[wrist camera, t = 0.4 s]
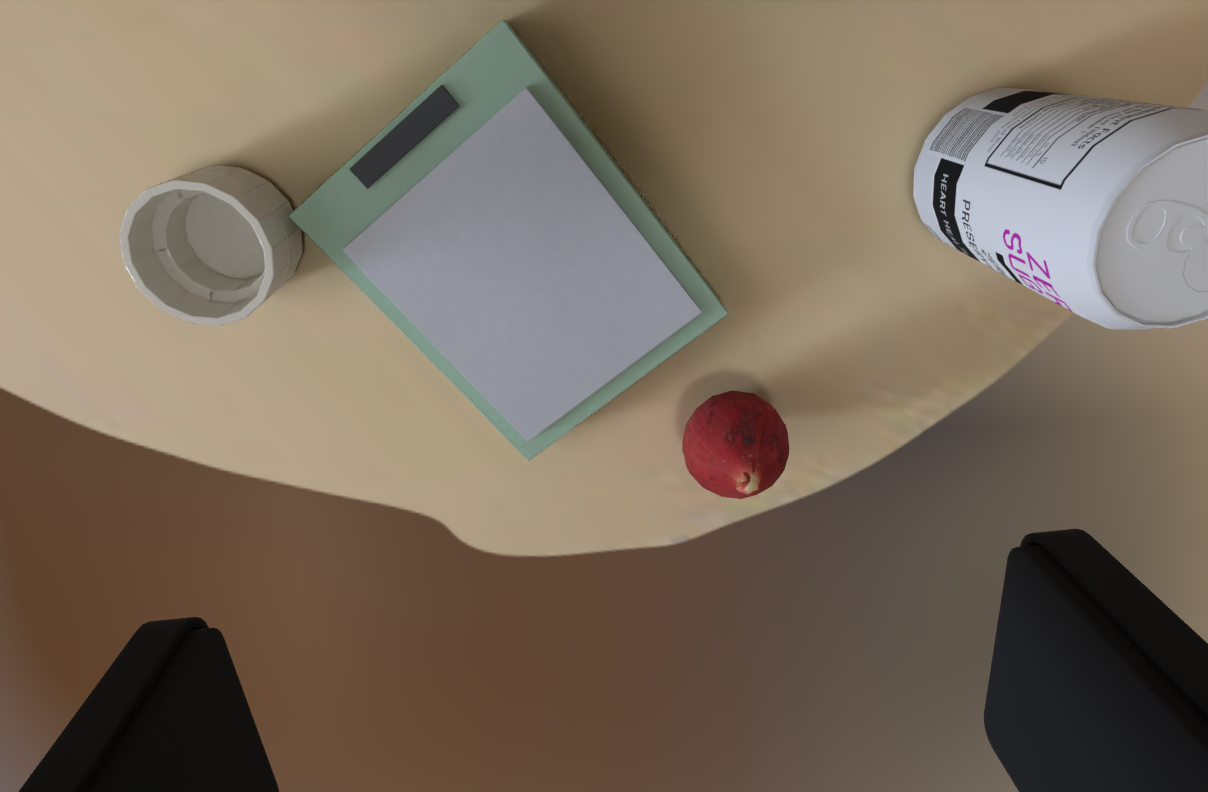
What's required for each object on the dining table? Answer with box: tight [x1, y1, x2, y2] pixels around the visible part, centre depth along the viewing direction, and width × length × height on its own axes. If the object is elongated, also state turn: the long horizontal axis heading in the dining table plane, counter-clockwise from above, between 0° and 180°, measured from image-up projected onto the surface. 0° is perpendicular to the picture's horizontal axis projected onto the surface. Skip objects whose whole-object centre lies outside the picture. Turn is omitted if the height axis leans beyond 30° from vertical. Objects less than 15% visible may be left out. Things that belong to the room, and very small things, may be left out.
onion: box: [682, 391, 789, 499], centre depth 43 cm, size 6×6×8 cm
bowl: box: [119, 165, 302, 326], centre depth 39 cm, size 7×7×5 cm
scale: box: [289, 20, 728, 461], centre depth 41 cm, size 18×14×3 cm
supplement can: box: [913, 88, 1208, 330], centre depth 34 cm, size 8×8×15 cm
